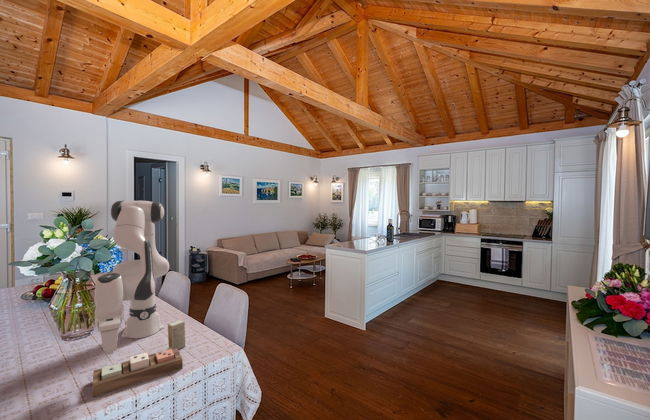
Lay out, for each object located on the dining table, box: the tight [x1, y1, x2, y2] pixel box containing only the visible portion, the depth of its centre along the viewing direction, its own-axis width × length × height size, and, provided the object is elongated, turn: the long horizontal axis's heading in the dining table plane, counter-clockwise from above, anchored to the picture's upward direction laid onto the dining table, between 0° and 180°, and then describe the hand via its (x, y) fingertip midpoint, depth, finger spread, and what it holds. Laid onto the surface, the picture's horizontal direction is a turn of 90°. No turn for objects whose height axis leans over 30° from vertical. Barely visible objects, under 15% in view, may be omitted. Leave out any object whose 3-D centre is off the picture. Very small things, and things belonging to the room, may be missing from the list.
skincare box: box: [167, 319, 186, 350], centre depth 136 cm, size 6×4×12 cm
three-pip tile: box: [155, 348, 174, 364], centre depth 121 cm, size 6×6×5 cm
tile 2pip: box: [129, 351, 149, 371], centre depth 116 cm, size 6×6×5 cm
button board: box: [92, 347, 184, 398], centre depth 116 cm, size 12×29×4 cm, turn 127°
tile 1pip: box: [101, 362, 122, 380], centre depth 110 cm, size 6×6×5 cm
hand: (110, 352), depth 110 cm, fingers closed
